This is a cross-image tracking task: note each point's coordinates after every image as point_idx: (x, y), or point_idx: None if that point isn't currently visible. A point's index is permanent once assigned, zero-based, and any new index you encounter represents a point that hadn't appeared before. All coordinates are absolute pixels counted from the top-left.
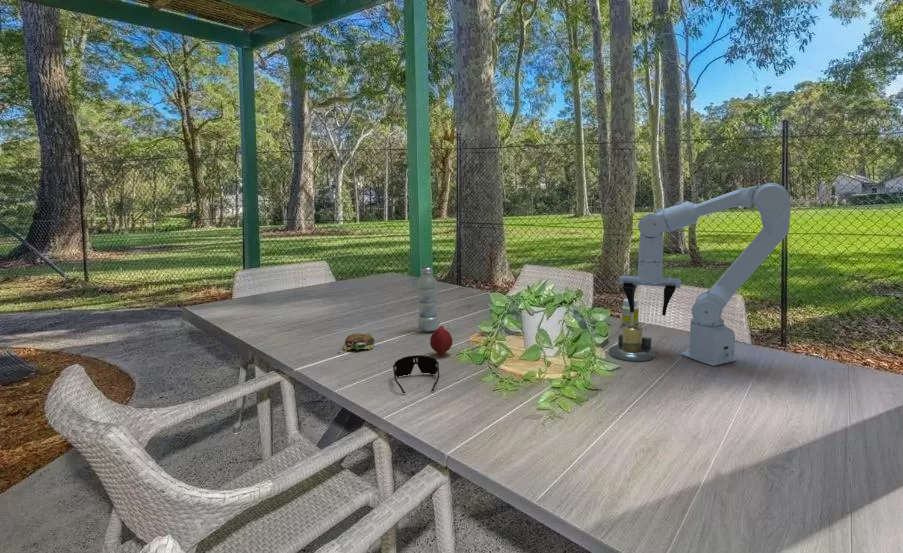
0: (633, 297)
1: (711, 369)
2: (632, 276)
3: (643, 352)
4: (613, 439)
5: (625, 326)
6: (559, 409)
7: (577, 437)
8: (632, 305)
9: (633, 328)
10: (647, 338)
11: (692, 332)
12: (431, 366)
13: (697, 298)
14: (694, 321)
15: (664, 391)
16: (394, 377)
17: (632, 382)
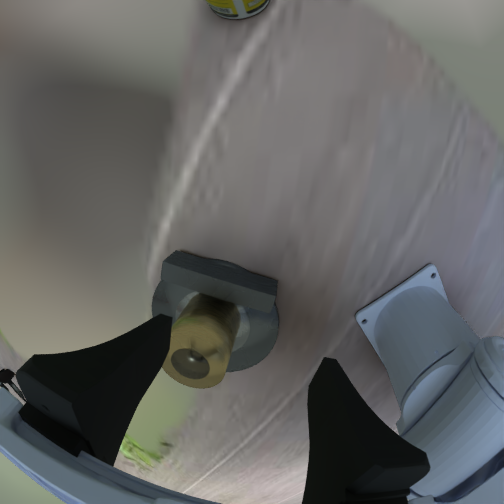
0: (132, 380)
1: (380, 388)
2: (31, 468)
3: (244, 335)
4: (198, 492)
5: None
6: (143, 462)
7: (171, 486)
8: (151, 380)
9: (192, 379)
10: (259, 305)
11: (392, 383)
12: (6, 376)
13: (495, 401)
14: (402, 418)
15: (257, 455)
16: (8, 390)
17: (212, 436)
